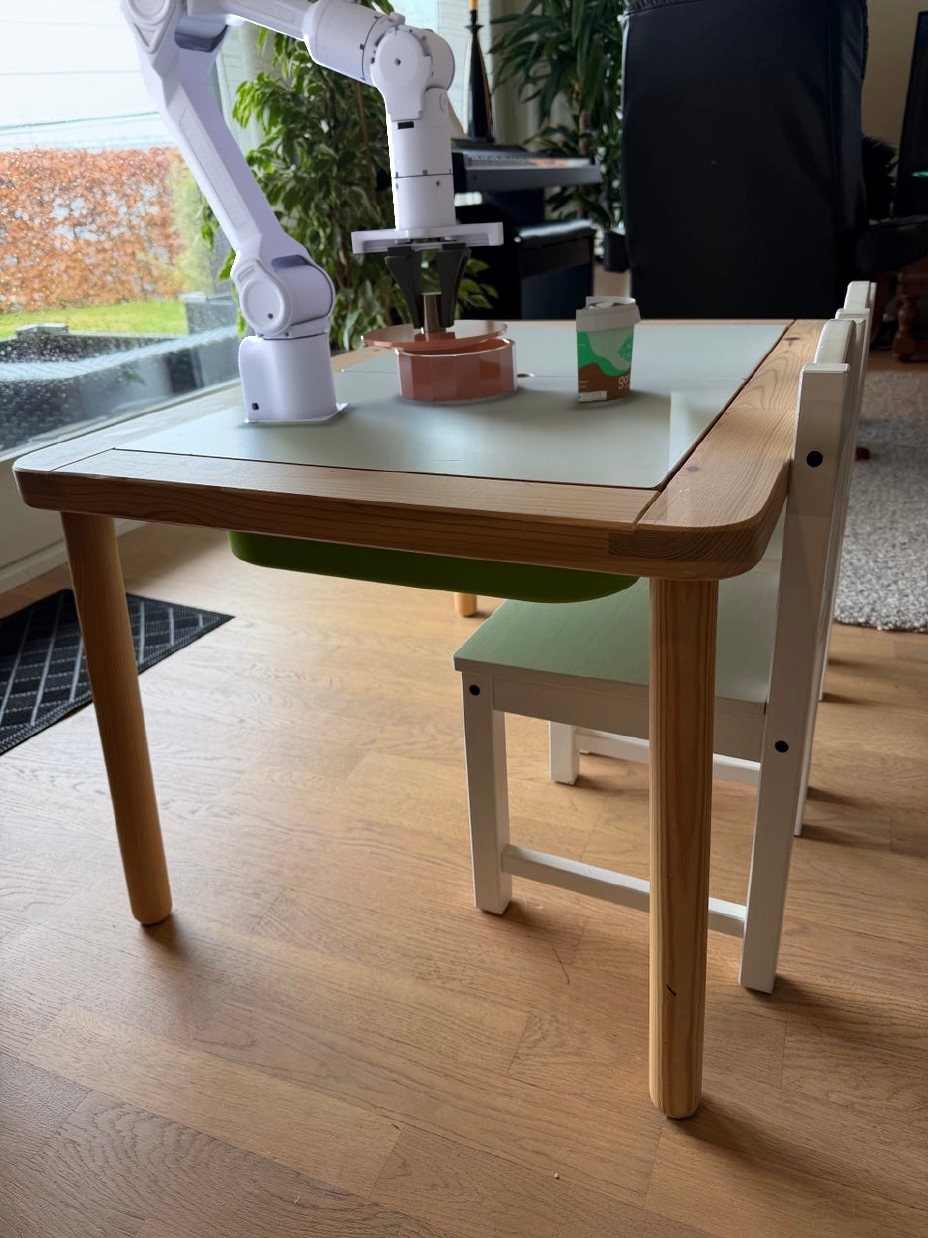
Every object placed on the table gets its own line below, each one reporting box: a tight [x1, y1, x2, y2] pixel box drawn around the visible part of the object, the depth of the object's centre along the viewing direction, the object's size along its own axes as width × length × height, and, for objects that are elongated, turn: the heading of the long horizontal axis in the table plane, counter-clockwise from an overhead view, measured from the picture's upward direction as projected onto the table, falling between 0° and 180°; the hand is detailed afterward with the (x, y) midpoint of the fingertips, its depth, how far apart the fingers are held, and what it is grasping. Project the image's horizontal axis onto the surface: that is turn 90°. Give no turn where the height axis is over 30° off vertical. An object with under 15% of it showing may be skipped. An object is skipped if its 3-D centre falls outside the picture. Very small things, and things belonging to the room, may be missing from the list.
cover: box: [360, 291, 508, 351], centre depth 94 cm, size 15×15×5 cm
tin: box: [394, 336, 519, 402], centre depth 110 cm, size 14×14×5 cm
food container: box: [575, 295, 642, 404], centre depth 100 cm, size 12×6×10 cm, turn 168°
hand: (433, 327), depth 94 cm, fingers closed on cover, 2 cm apart
